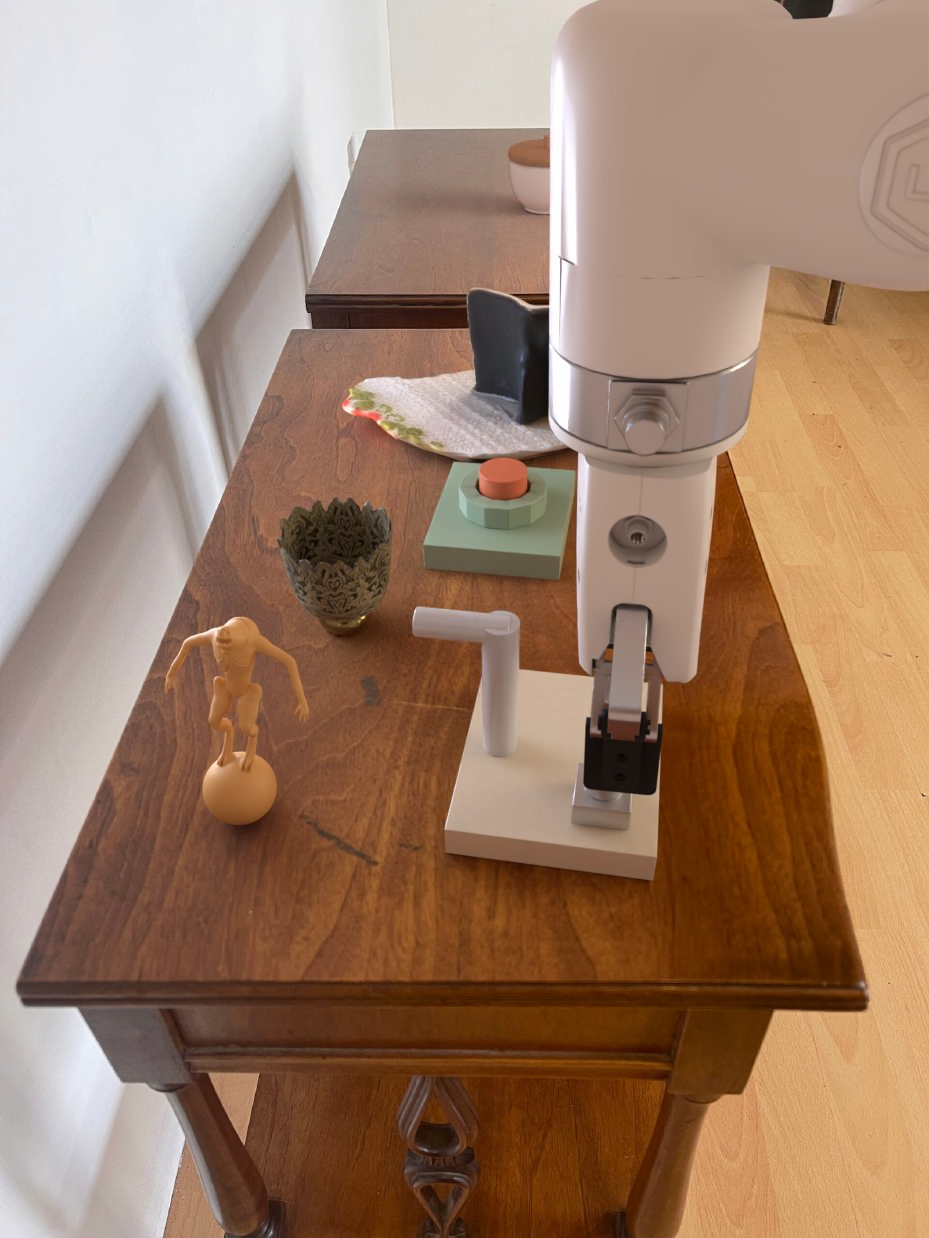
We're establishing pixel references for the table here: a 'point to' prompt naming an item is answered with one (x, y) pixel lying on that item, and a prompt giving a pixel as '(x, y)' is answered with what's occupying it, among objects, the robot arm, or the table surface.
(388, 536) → the cup
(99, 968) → the table surface
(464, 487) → the button block
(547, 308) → the religious ornament
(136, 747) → the table surface
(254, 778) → the figurine
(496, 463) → the button
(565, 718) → the tap base
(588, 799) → the tap lever
